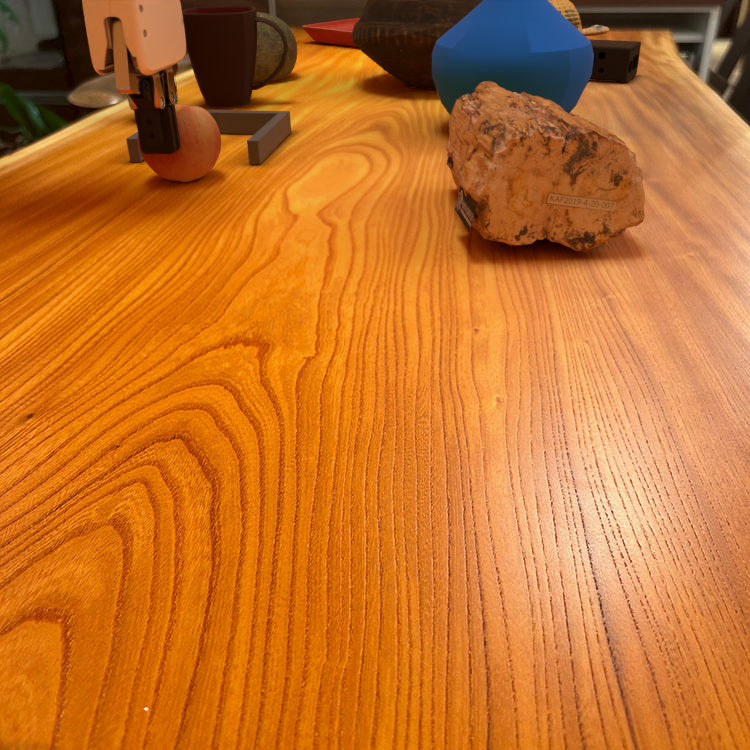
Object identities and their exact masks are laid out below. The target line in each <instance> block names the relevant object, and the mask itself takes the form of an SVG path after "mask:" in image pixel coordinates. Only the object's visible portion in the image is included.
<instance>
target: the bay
mask: <svg viewBox="0 0 750 750" xmlns="http://www.w3.org/2000/svg"><path fill="white" fill-rule="evenodd" d="M205 110H206V111H208V112H209V113H210V114H211V116H212V117H213V118H214V120H215V121H216V123H217V125H218V128H219V131H220V135H252V136H251V137H249V138H248V139H247V140H246V146H247V153H248V163H249V165H257V166H258V165H261V164H262V163H263V162H264V161H265V160H266V159H267V158H268V157H269V156H270V155H271V154H272V153H273V152H274V151H275V150H276V149H277V147H279V146H280V145H281V144H282V143H283V142H284V140H285V139H286V138H288V136H289V135H290V134H292V122H291V111H290V110H220V109H216V110H214V109H205ZM125 140H126V146H127V151H128V157H129V162H130V163H142V162H143V161H145V160H144V158H143V156H142V154H141V151H140V148H139V144H138V131H137V132H135V133H133V134H131V135H130V136H128V137H127V138H126V139H125Z"/></svg>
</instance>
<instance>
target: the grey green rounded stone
mask: <svg viewBox="0 0 750 750" xmlns="http://www.w3.org/2000/svg"><path fill="white" fill-rule="evenodd" d="M256 12H257V17H262V18H266V19H268V20H270V21H272V22H274V23H275V24H276V25H278V26H279V27H280V28H281V29H282V31H283V32H284V34H285V37H286V39H287V43H288V53H287V57H286V61H285V63H284V66H283V67H282V69H281V70H280V72H279V73H278V74H277V75H276V77H275V78H274V79H273V80H274V81H275V80H281V79H286V78H288V77H289V76H290V75H291V74H292V72H293V70H294V69H295V67H296V63H297V59H298V44H297V40H296V37H295V34H294V32H293V30H292V29H291V27H290V26H289V25H287V23H286V22H285V21H284V20H282V19H281V18H279V17H277V16H275V15H273V14H270V13H268V12H260V11H256ZM283 52H284V44H283V40H282V38H281V36H280V34H279V33H278V32H277V31H276V30H275V29H274V28H273V27H271V26H269V25H267V24H265V23H261V22H257V53H256V67H255V77H254V82H263V81H264V80H265V79H267V78H268V77H269V76H270V75H271V74H272V73H273V72H274V71H275V69H276V68H277V67H278V65H279V64H280V62H281V59H282V56H283ZM273 80H272V81H273Z"/></svg>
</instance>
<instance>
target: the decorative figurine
mask: <svg viewBox="0 0 750 750" xmlns="http://www.w3.org/2000/svg"><path fill="white" fill-rule="evenodd" d="M548 1H549V2H550V3H551V4H552V5H553V6H554V7H555V8H556V9H557V10H558V11H559V12H560V13H561V14H562V15H563V16H564V17H565V18H566V19H567V20H568V21H569V22H570V23H571V24H572V25H573V26H575V27H576V28H577V29H578V30H579V31H580V32H581V33H582V34H583V35H584V36H585V37H594V36H601V35H605V34H608V32H609V31H610V28H609V27H608V26H604V25H599V24H594V25H591V26H590V27H586V28H583V26H582V25H583V24H582V20H581V17H580V16H581V15H580V13H579V11H578V10H577V8H576V6H575V4H574V3H573V2H572V1H570V0H548Z"/></svg>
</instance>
